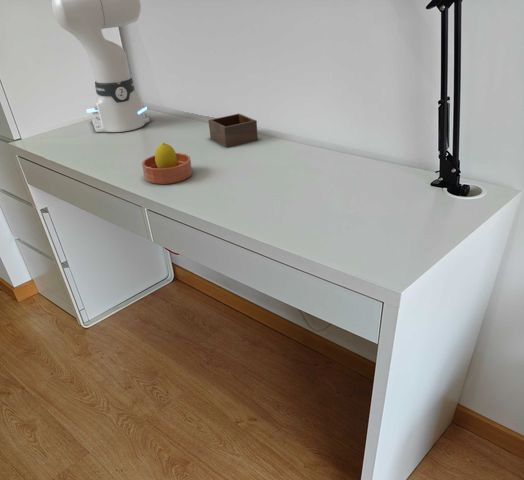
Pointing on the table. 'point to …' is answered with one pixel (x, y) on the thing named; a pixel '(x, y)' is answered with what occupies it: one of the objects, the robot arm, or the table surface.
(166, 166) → the lemon
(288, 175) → the table surface
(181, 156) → the bowl
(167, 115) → the table surface
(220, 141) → the holder
